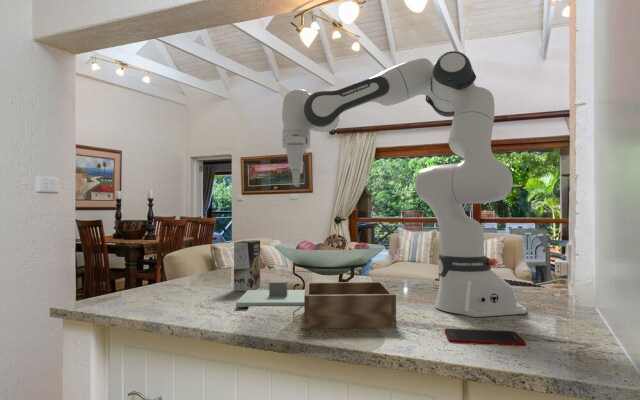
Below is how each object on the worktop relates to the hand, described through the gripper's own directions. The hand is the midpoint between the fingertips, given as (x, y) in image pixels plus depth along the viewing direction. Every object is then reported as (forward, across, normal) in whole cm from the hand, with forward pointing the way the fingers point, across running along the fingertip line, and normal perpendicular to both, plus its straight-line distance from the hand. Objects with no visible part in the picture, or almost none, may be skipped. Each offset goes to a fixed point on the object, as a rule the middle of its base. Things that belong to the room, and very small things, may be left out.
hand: (296, 185), depth 130 cm
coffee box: (+34, -10, -17) cm, 40 cm away
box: (+34, +32, +13) cm, 48 cm away
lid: (+34, +10, -5) cm, 35 cm away
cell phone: (+35, +45, +40) cm, 70 cm away
